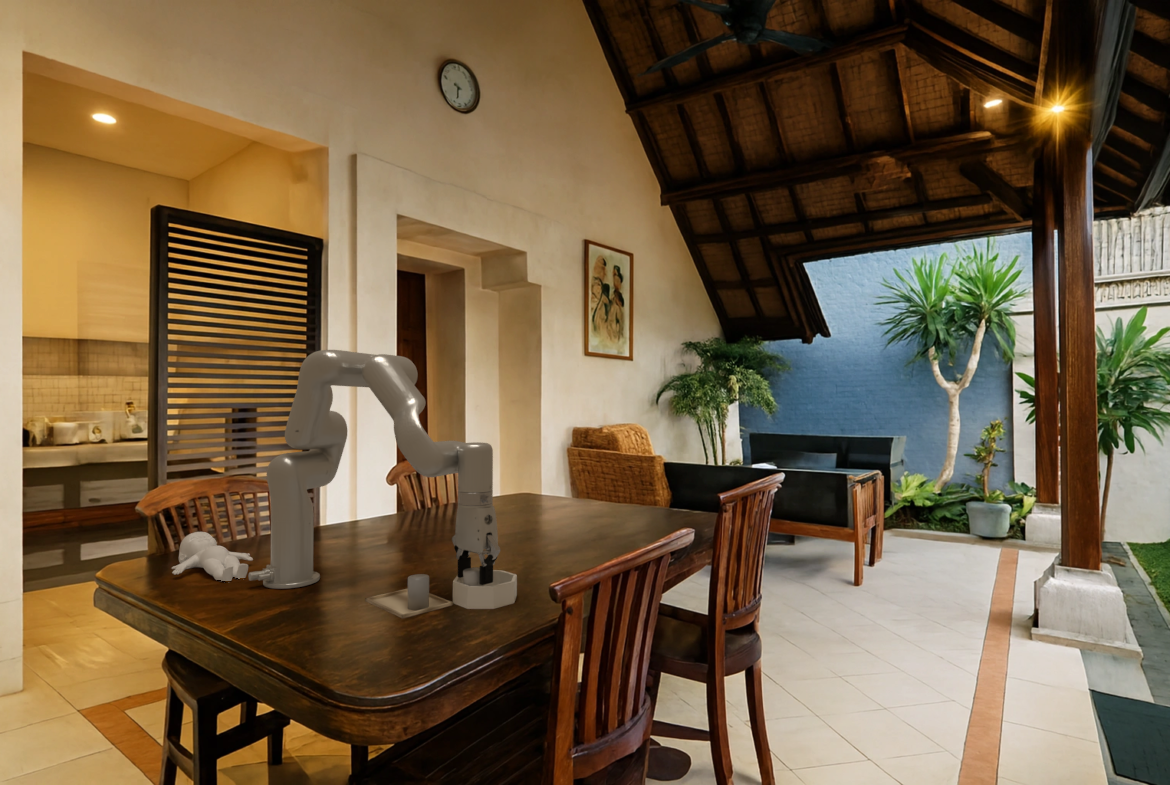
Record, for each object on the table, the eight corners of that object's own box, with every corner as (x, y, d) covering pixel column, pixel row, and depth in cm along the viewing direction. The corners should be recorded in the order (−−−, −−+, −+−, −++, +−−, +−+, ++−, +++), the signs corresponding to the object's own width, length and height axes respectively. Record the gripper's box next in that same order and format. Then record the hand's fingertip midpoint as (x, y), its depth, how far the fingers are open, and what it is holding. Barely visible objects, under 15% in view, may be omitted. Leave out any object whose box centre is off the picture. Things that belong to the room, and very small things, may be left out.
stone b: (414, 611, 133) (414, 581, 133) (403, 607, 136) (403, 576, 137) (432, 607, 137) (433, 576, 137) (421, 602, 140) (422, 573, 140)
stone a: (488, 598, 140) (487, 569, 140) (472, 604, 137) (471, 574, 137) (476, 594, 143) (474, 566, 143) (460, 600, 140) (458, 571, 140)
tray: (402, 620, 129) (402, 615, 129) (365, 602, 141) (365, 598, 141) (452, 606, 138) (452, 602, 138) (413, 591, 149) (413, 587, 149)
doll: (193, 565, 150) (150, 532, 169) (191, 603, 151) (148, 566, 170) (276, 551, 165) (227, 522, 184) (273, 585, 166) (225, 553, 184)
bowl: (478, 614, 133) (478, 590, 133) (442, 600, 142) (442, 578, 142) (528, 600, 142) (528, 578, 142) (491, 588, 152) (491, 567, 152)
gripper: (513, 501, 137) (513, 584, 137) (466, 493, 149) (466, 569, 149) (485, 505, 132) (485, 591, 132) (438, 496, 144) (438, 575, 144)
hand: (475, 579), depth 140 cm, fingers open, 7 cm apart
